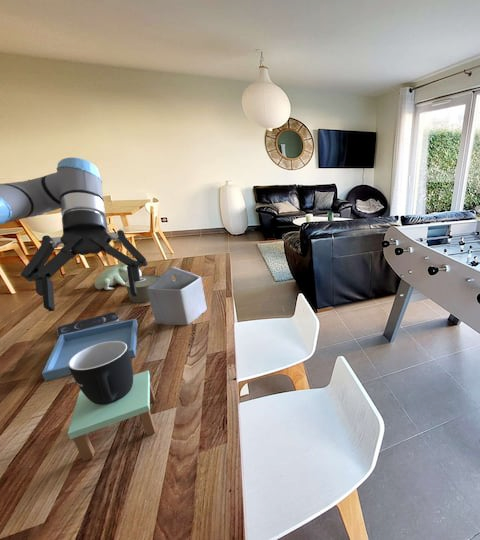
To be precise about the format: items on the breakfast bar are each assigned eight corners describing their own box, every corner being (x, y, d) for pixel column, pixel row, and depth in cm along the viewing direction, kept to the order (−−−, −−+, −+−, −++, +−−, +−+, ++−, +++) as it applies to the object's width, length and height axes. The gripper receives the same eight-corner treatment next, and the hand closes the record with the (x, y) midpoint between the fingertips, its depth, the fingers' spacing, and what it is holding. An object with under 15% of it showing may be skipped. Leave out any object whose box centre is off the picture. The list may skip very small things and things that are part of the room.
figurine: (145, 282, 128) (139, 262, 124) (96, 293, 118) (89, 270, 114) (141, 275, 135) (135, 255, 131) (95, 285, 124) (87, 263, 120)
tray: (45, 381, 73) (41, 373, 72) (63, 341, 88) (60, 334, 87) (135, 356, 83) (133, 349, 82) (137, 324, 98) (135, 318, 97)
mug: (85, 390, 61) (69, 351, 57) (137, 372, 66) (125, 335, 63) (83, 429, 53) (64, 387, 49) (143, 405, 58) (130, 365, 54)
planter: (159, 333, 94) (145, 279, 87) (155, 323, 99) (142, 271, 92) (212, 317, 104) (204, 268, 97) (206, 309, 109) (197, 261, 102)
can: (140, 305, 110) (136, 289, 107) (122, 298, 114) (118, 282, 112) (171, 293, 120) (168, 278, 117) (154, 287, 124) (150, 272, 122)
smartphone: (119, 319, 99) (58, 336, 88) (119, 321, 99) (59, 339, 89) (115, 311, 104) (56, 326, 93) (115, 313, 104) (57, 329, 93)
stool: (81, 463, 55) (67, 433, 52) (91, 418, 64) (79, 390, 61) (156, 433, 61) (148, 405, 58) (156, 396, 70) (148, 370, 67)
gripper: (152, 222, 77) (165, 294, 71) (14, 231, 63) (17, 321, 57) (147, 205, 71) (161, 283, 65) (-6, 211, 57) (-5, 309, 51)
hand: (94, 301), depth 61 cm, fingers open, 13 cm apart
